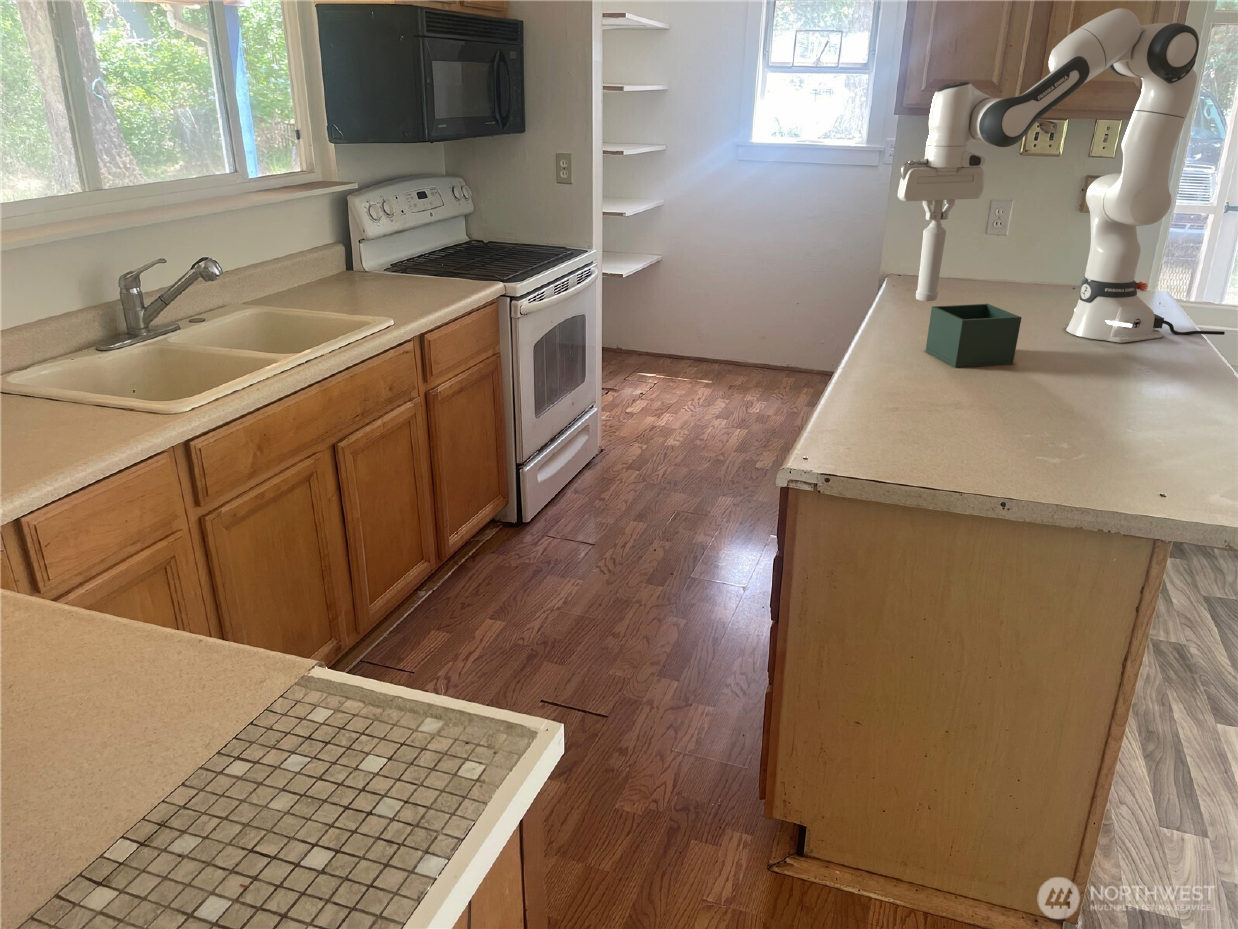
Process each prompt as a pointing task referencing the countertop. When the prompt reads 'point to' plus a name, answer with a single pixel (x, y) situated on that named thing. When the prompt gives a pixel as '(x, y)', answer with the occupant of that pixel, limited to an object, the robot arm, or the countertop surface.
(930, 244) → the bottle
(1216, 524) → the countertop surface
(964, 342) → the bin
